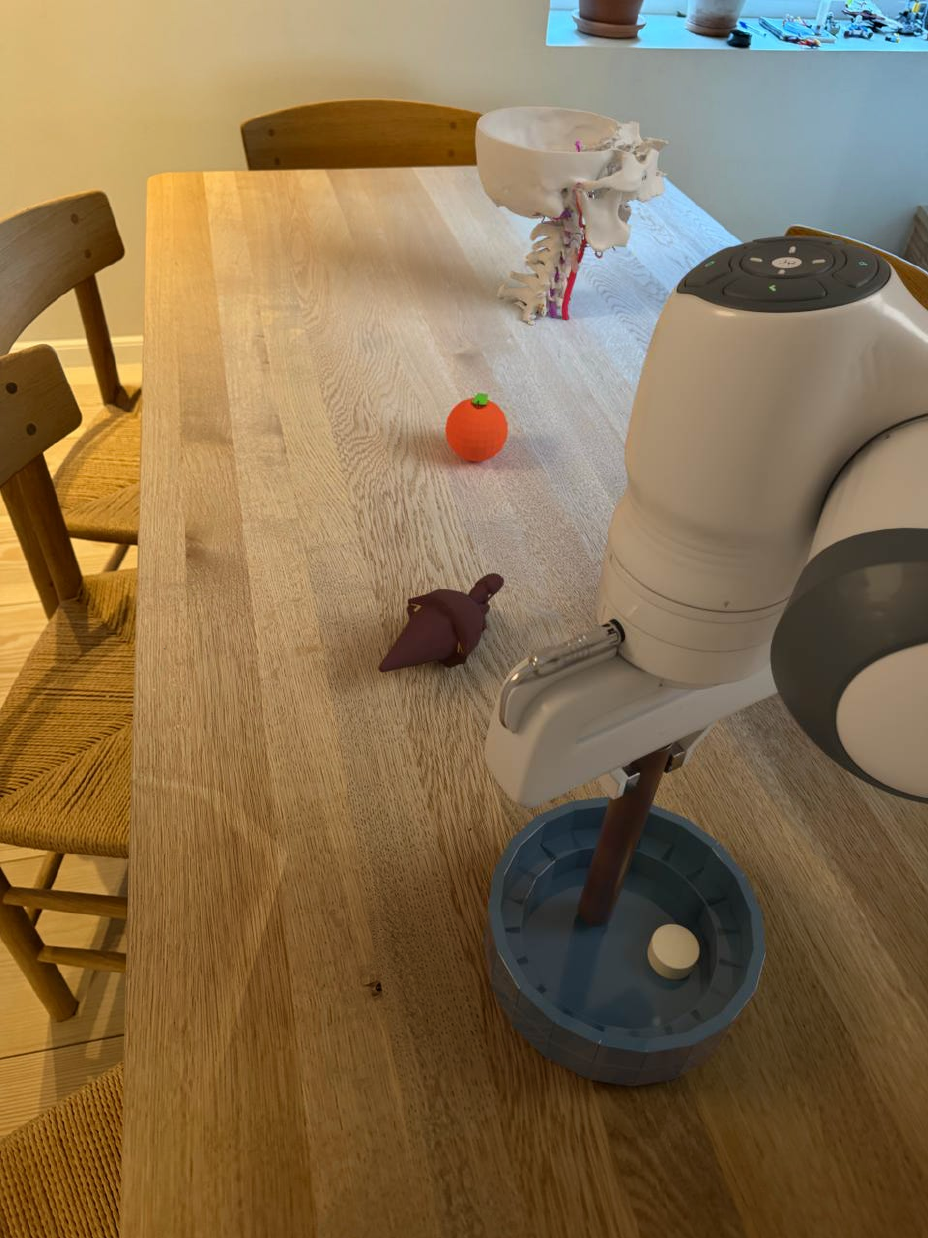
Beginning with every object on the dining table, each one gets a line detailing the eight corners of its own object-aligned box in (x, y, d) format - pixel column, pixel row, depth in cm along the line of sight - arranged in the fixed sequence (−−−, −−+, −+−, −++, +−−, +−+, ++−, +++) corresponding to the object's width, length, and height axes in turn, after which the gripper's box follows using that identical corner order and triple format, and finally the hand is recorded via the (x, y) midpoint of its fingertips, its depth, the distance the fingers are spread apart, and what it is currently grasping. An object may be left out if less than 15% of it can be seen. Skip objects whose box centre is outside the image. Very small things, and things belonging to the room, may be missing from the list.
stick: (611, 897, 67) (673, 718, 53) (612, 929, 65) (676, 753, 51) (577, 893, 67) (630, 713, 53) (577, 925, 65) (631, 748, 51)
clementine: (453, 429, 111) (456, 375, 107) (511, 439, 111) (517, 384, 106) (438, 468, 106) (440, 412, 101) (499, 478, 105) (504, 422, 100)
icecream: (422, 675, 75) (537, 595, 84) (358, 613, 77) (477, 541, 86) (400, 723, 80) (511, 642, 89) (341, 663, 82) (455, 590, 91)
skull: (462, 326, 130) (471, 147, 114) (470, 267, 143) (480, 100, 128) (645, 340, 130) (681, 163, 114) (636, 280, 143) (666, 114, 127)
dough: (696, 941, 66) (701, 930, 65) (693, 985, 63) (698, 974, 62) (649, 930, 66) (654, 918, 65) (645, 973, 64) (649, 962, 63)
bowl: (732, 863, 71) (753, 817, 67) (750, 1111, 59) (778, 1073, 54) (498, 828, 72) (505, 781, 68) (467, 1065, 60) (472, 1024, 56)
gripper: (545, 719, 39) (517, 896, 48) (894, 568, 47) (810, 746, 56) (467, 623, 43) (455, 804, 52) (801, 498, 50) (738, 676, 60)
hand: (642, 773), depth 54 cm, fingers closed on stick, 2 cm apart
